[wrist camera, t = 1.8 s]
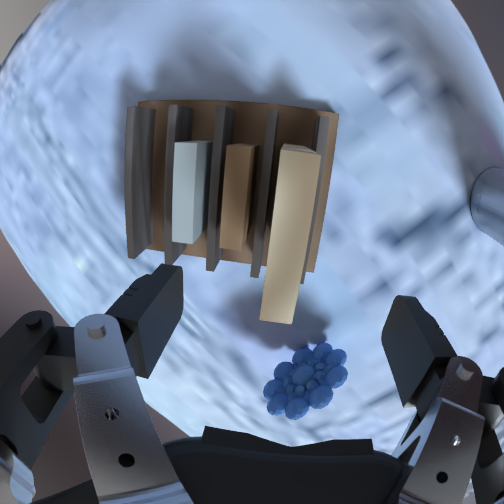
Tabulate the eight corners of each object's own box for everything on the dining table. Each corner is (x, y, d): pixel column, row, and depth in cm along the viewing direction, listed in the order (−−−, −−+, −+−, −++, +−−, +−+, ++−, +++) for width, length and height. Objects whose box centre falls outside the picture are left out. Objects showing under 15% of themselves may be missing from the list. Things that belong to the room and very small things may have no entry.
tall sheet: (303, 145, 28) (321, 155, 13) (291, 236, 32) (291, 324, 17) (284, 143, 28) (280, 149, 14) (273, 234, 32) (259, 319, 18)
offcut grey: (216, 141, 29) (197, 143, 22) (211, 221, 32) (192, 244, 26) (198, 140, 29) (174, 142, 23) (194, 219, 33) (172, 241, 26)
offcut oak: (259, 145, 29) (251, 147, 22) (251, 226, 32) (241, 250, 26) (240, 143, 29) (226, 145, 22) (233, 224, 32) (219, 247, 26)
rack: (336, 114, 28) (348, 109, 22) (312, 267, 35) (316, 294, 29) (144, 102, 29) (115, 98, 23) (141, 243, 36) (117, 263, 30)
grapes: (279, 378, 43) (273, 440, 32) (260, 349, 41) (250, 414, 30) (350, 356, 40) (362, 420, 29) (337, 324, 38) (349, 390, 27)
